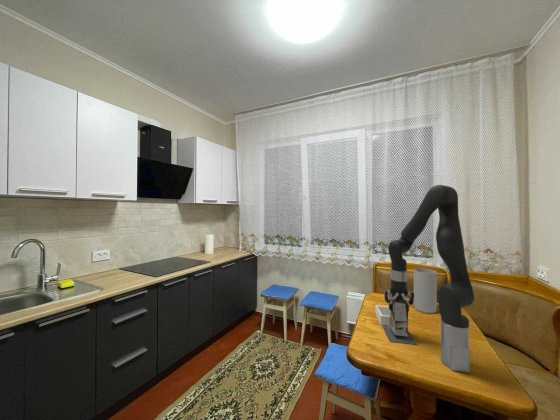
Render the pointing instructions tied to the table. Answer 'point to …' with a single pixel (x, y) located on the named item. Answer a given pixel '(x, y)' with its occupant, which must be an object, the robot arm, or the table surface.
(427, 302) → the cylinder vase
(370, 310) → the table surface
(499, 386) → the table surface
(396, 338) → the rubber mat
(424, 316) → the table surface
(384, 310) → the sleeve box
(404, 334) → the coffee box
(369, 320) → the table surface
